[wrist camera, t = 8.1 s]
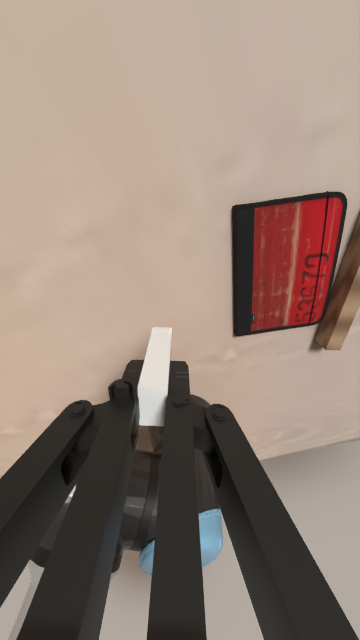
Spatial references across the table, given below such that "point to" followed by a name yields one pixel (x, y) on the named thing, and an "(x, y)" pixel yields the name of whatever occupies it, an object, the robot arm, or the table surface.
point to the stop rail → (342, 298)
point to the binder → (285, 260)
